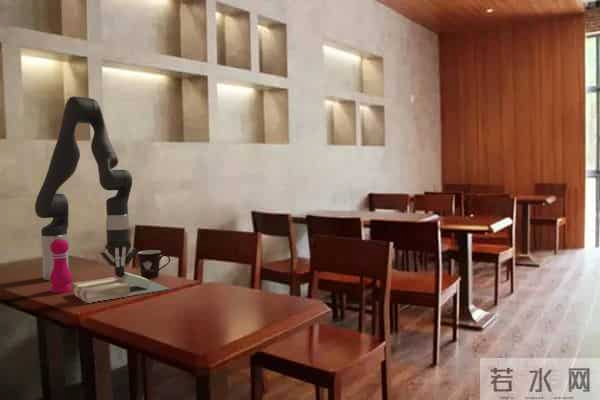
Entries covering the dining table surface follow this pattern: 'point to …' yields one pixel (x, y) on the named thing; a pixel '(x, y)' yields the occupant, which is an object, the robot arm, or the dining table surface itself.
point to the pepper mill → (60, 266)
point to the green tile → (135, 280)
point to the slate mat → (152, 288)
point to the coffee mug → (150, 263)
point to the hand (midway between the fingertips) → (119, 276)
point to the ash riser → (101, 289)
